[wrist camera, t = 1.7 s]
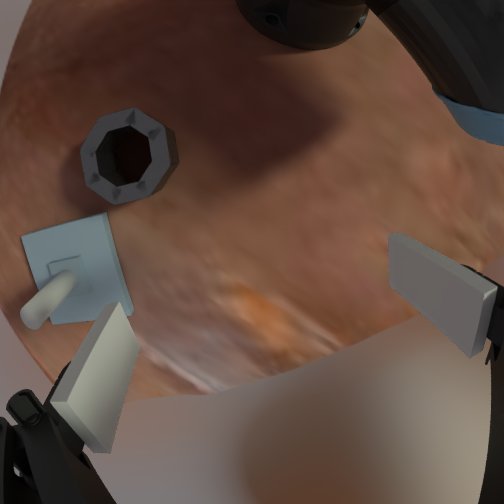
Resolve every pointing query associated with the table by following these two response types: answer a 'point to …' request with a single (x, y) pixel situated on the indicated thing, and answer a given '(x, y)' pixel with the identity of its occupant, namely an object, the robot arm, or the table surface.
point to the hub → (106, 163)
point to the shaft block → (73, 272)
